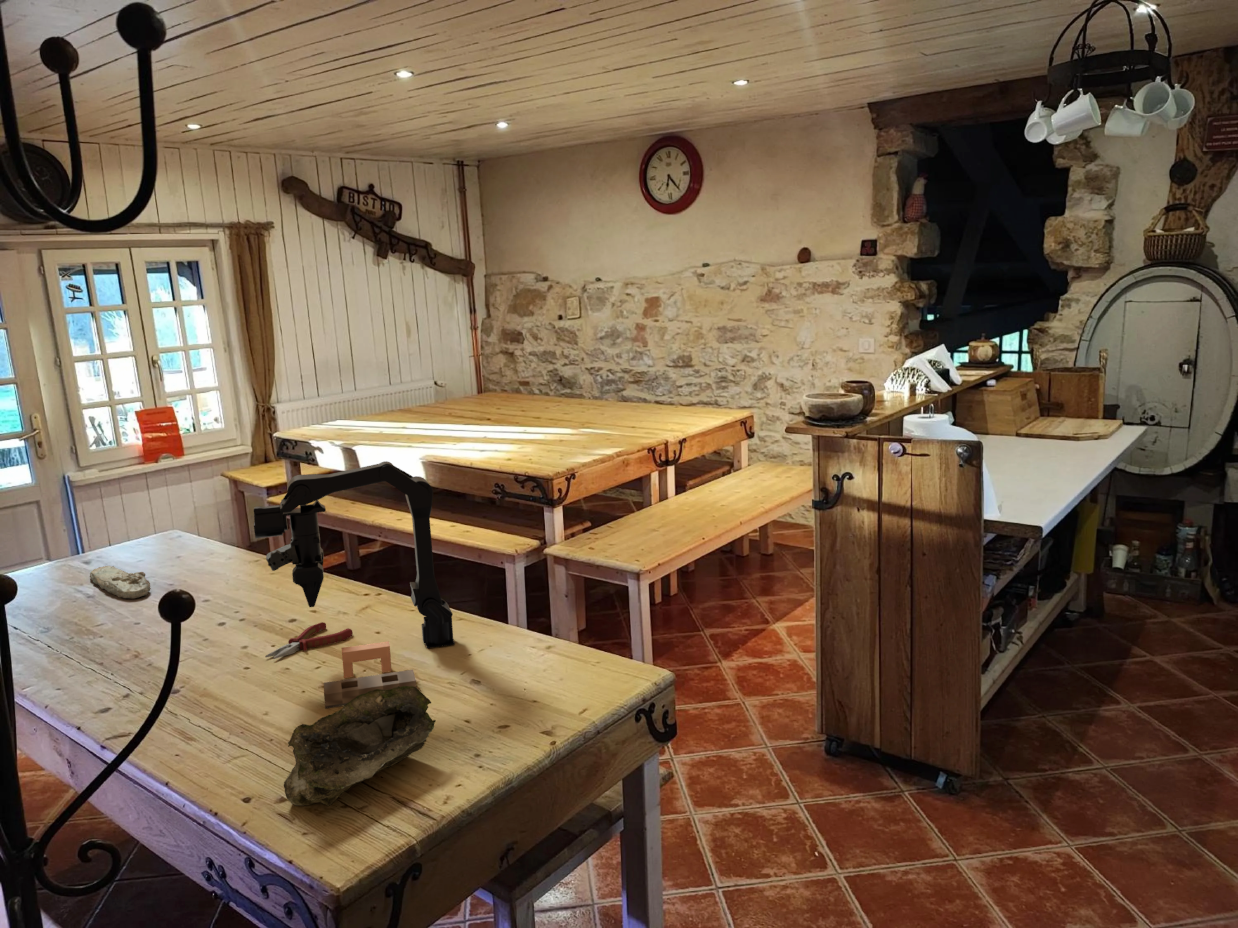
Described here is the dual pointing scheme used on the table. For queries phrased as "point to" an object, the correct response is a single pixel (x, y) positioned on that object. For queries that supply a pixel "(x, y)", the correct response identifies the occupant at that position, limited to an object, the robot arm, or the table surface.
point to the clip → (366, 656)
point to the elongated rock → (121, 582)
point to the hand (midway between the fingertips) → (312, 600)
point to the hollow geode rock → (356, 743)
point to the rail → (364, 686)
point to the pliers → (310, 640)
